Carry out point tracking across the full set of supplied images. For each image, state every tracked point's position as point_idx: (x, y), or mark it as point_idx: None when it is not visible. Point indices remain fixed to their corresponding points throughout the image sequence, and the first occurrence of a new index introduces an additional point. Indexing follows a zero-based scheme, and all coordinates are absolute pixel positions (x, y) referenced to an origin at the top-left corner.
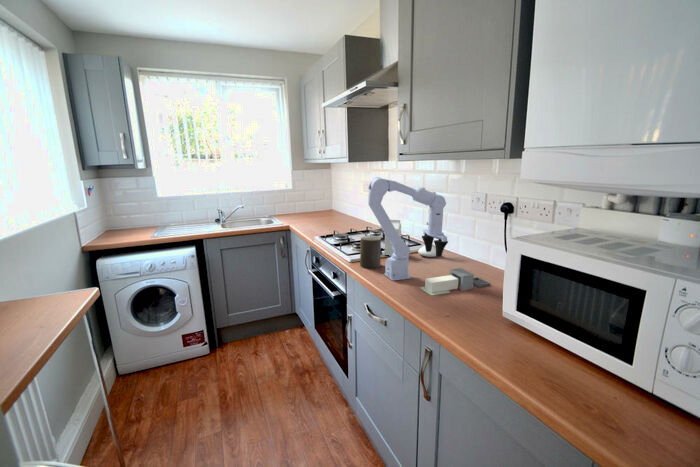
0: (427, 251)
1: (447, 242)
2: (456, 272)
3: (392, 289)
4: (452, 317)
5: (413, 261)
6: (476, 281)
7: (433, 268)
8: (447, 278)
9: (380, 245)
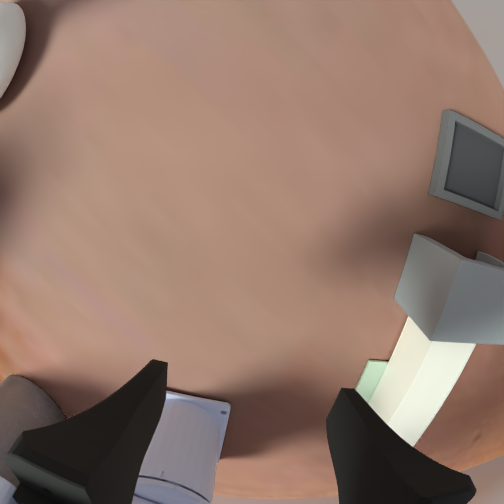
0: (164, 395)
1: (469, 484)
2: (472, 342)
3: (281, 484)
4: (486, 431)
5: (15, 213)
6: (465, 159)
7: (152, 189)
8: (438, 383)
9: (2, 459)
